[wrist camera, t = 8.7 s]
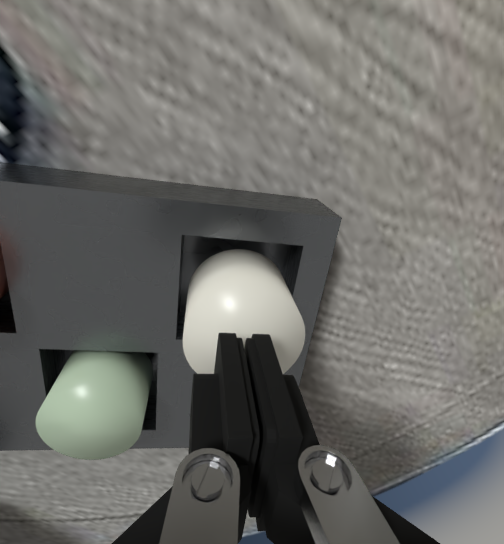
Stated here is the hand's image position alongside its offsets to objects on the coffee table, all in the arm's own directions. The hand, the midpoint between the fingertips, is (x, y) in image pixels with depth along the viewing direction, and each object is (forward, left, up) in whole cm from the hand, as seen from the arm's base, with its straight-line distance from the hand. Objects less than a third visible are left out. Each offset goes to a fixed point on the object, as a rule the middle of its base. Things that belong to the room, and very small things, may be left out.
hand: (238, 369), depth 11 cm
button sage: (+6, +6, -6) cm, 10 cm away
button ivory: (0, 0, -5) cm, 5 cm away
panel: (+6, +3, -8) cm, 10 cm away
